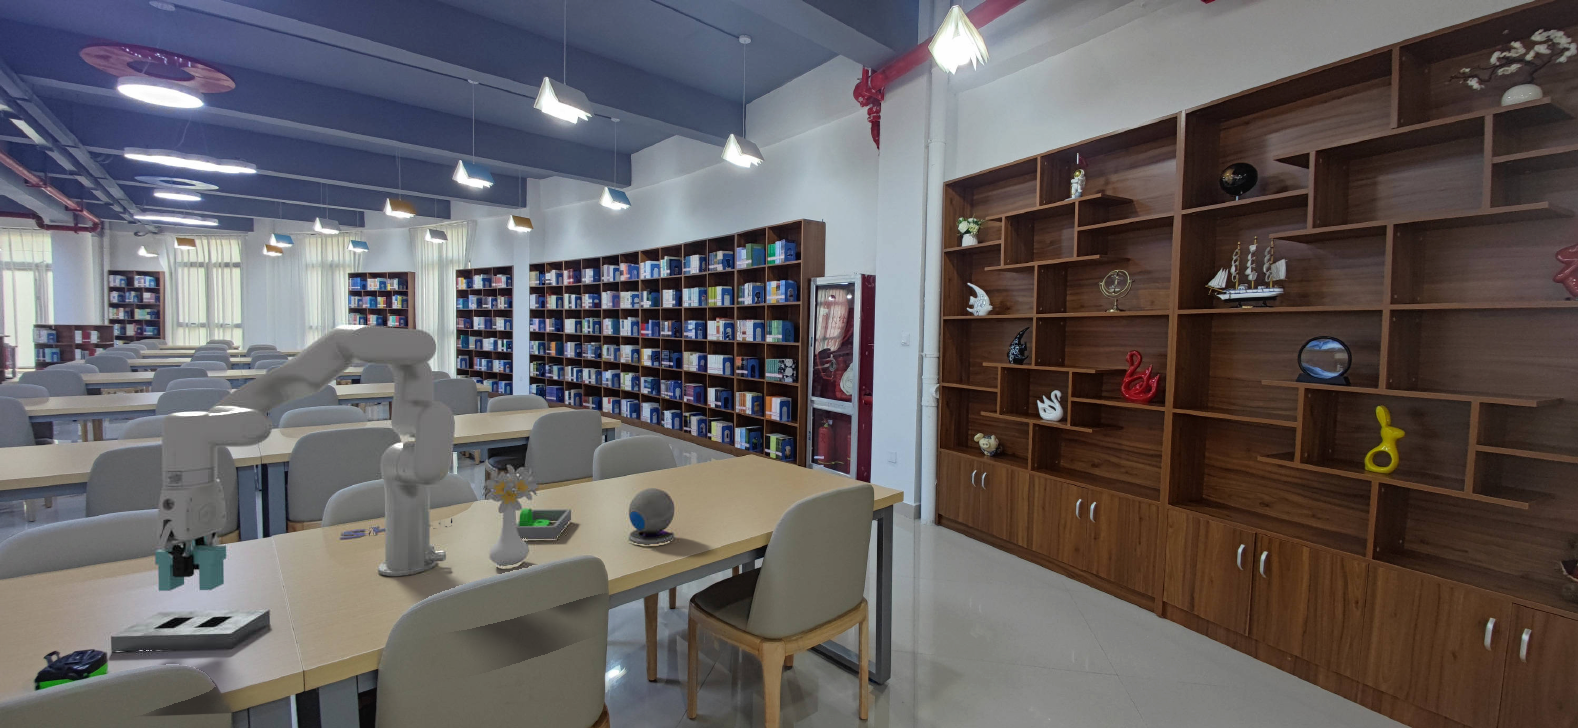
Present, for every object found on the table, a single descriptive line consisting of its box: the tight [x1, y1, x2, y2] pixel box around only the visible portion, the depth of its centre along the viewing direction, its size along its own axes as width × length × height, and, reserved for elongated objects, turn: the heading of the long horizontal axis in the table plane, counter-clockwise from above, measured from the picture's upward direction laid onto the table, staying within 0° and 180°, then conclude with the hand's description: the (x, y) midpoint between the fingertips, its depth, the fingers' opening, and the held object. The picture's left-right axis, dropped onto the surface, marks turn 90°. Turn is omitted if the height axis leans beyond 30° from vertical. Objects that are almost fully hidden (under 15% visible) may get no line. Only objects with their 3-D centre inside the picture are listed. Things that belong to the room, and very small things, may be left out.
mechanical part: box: [518, 508, 551, 526], centre depth 186 cm, size 12×6×8 cm, turn 6°
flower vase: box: [481, 464, 539, 566], centre depth 158 cm, size 13×18×25 cm
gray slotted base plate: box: [110, 609, 271, 653], centre depth 119 cm, size 20×10×3 cm, turn 96°
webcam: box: [628, 487, 675, 545], centre depth 181 cm, size 13×13×15 cm
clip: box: [154, 545, 227, 592], centre depth 118 cm, size 10×3×8 cm, turn 96°
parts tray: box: [516, 508, 572, 539], centre depth 186 cm, size 12×18×4 cm, turn 6°
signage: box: [339, 526, 385, 540], centre depth 186 cm, size 28×1×10 cm
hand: (191, 571), depth 118 cm, fingers closed on clip, 3 cm apart
